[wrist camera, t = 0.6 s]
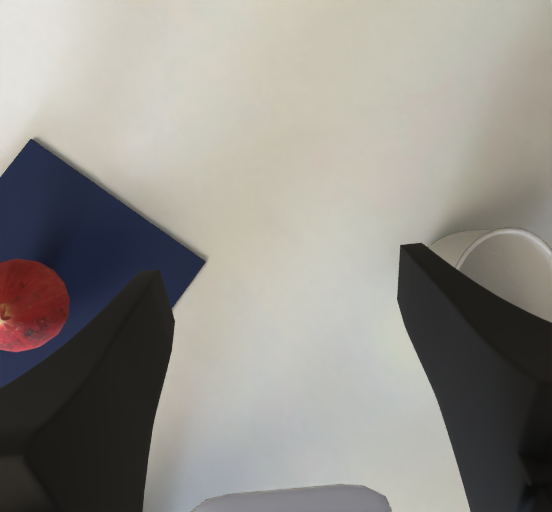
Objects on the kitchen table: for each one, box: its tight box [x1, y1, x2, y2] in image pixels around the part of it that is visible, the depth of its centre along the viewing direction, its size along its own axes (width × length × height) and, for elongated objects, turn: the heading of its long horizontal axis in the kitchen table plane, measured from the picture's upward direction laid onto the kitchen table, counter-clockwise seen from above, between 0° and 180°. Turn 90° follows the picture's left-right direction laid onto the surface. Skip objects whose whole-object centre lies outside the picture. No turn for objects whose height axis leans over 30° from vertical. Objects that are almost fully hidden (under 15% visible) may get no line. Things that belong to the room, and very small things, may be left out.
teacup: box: [428, 228, 552, 322], centre depth 38 cm, size 14×11×8 cm
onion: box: [0, 259, 70, 352], centre depth 29 cm, size 6×6×8 cm
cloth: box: [0, 139, 205, 388], centre depth 33 cm, size 20×15×1 cm
